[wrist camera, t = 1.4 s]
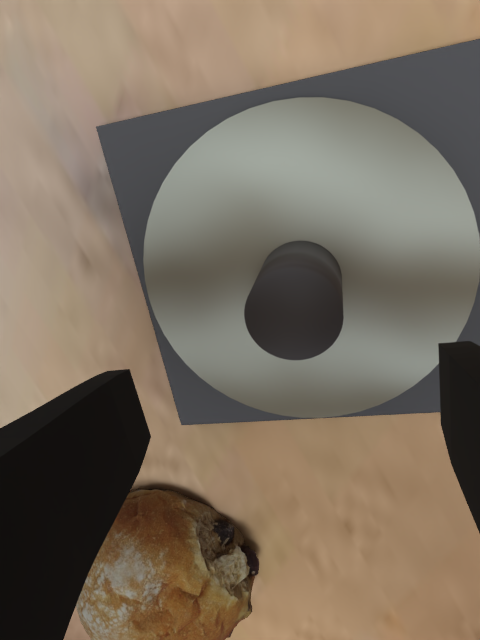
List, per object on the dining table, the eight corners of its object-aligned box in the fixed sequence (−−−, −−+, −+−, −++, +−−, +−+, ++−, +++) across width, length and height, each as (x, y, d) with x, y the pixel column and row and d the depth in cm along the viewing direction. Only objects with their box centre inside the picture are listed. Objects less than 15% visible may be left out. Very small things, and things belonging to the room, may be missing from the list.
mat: (484, 402, 20) (488, 409, 20) (184, 419, 23) (181, 425, 23) (487, 38, 15) (492, 35, 14) (101, 126, 18) (95, 126, 18)
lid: (475, 400, 20) (510, 470, 16) (188, 415, 23) (159, 478, 19) (475, 57, 15) (525, 37, 11) (111, 138, 18) (50, 144, 14)
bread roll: (140, 433, 29) (22, 513, 23) (277, 508, 24) (169, 638, 18) (150, 543, 33) (52, 636, 27) (269, 629, 28) (179, 768, 22)
